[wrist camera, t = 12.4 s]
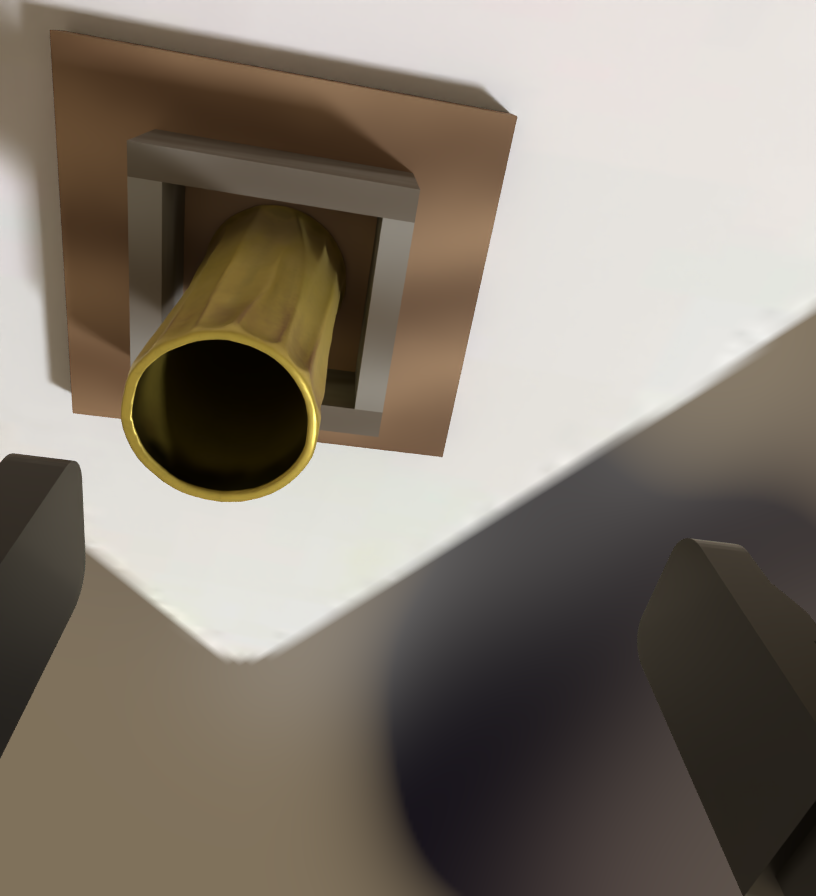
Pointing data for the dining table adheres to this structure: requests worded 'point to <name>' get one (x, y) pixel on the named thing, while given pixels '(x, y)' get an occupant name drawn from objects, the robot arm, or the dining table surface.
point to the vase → (240, 361)
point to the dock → (285, 184)
